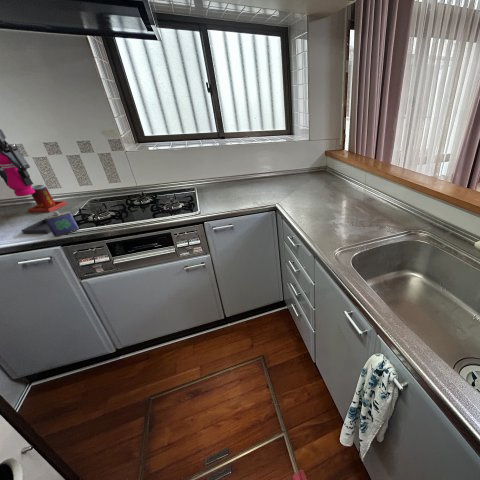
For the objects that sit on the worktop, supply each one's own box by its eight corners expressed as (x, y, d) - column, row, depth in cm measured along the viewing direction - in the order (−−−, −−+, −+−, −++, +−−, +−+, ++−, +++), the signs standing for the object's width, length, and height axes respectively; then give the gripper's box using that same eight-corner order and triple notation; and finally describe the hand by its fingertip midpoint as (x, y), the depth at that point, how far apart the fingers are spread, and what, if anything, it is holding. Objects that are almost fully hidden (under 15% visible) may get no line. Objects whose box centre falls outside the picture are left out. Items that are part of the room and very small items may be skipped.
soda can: (45, 205, 151) (34, 184, 145) (59, 204, 152) (48, 184, 146) (36, 210, 145) (23, 189, 139) (50, 209, 146) (38, 188, 140)
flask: (78, 227, 127) (67, 207, 122) (80, 229, 126) (69, 208, 120) (53, 235, 121) (40, 214, 116) (55, 237, 119) (42, 215, 114)
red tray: (29, 212, 144) (27, 209, 143) (47, 204, 153) (45, 201, 153) (50, 212, 144) (48, 209, 143) (66, 204, 154) (65, 201, 153)
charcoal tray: (23, 233, 123) (21, 230, 122) (44, 223, 132) (42, 219, 131) (47, 233, 123) (45, 229, 122) (67, 222, 133) (65, 219, 132)
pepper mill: (25, 196, 116) (-3, 149, 106) (9, 196, 116) (-21, 149, 106) (41, 191, 122) (15, 145, 112) (25, 191, 122) (-2, 145, 112)
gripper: (-50, 131, 102) (-12, 188, 114) (2, 130, 102) (35, 187, 114) (-28, 128, 109) (6, 182, 120) (21, 127, 109) (51, 182, 120)
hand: (20, 185), depth 117 cm, fingers closed on pepper mill, 7 cm apart
